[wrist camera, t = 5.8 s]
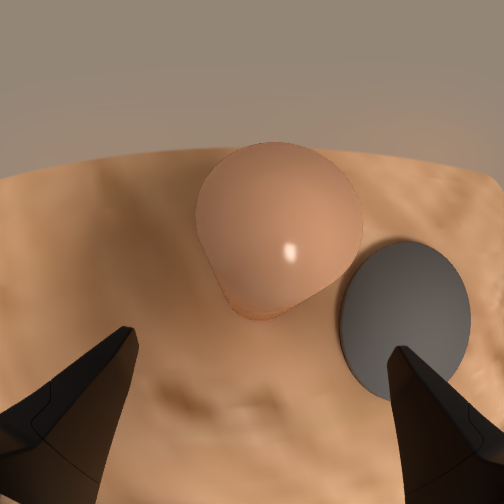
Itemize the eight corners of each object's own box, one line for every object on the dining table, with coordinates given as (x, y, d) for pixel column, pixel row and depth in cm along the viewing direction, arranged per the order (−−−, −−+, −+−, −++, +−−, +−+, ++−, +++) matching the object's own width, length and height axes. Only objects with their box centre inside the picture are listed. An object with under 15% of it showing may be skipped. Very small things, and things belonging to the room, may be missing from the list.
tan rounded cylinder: (310, 291, 20) (392, 230, 8) (252, 335, 19) (265, 335, 7) (266, 236, 22) (292, 121, 10) (209, 276, 21) (164, 194, 9)
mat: (482, 325, 20) (487, 324, 19) (395, 431, 17) (400, 433, 16) (412, 217, 22) (416, 213, 22) (304, 311, 20) (307, 310, 19)
